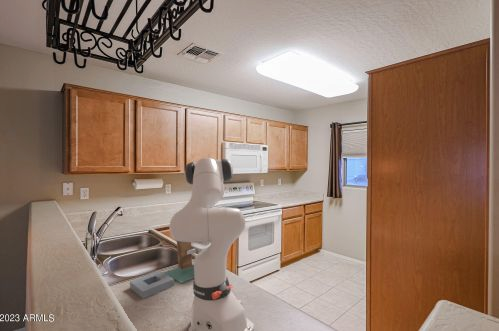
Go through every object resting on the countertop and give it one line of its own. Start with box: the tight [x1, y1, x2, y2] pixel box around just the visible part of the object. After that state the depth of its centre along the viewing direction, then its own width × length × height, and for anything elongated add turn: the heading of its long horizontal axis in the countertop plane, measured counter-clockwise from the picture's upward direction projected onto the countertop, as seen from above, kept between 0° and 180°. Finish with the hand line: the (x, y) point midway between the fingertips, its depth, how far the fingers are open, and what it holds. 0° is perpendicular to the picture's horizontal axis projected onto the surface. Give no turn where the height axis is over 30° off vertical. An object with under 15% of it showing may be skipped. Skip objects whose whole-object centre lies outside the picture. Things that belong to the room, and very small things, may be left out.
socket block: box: [129, 270, 175, 300], centre depth 108 cm, size 14×14×3 cm
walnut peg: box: [176, 241, 193, 270], centre depth 121 cm, size 5×5×14 cm
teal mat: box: [164, 265, 194, 284], centre depth 121 cm, size 16×14×1 cm
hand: (182, 251), depth 120 cm, fingers closed on walnut peg, 5 cm apart
